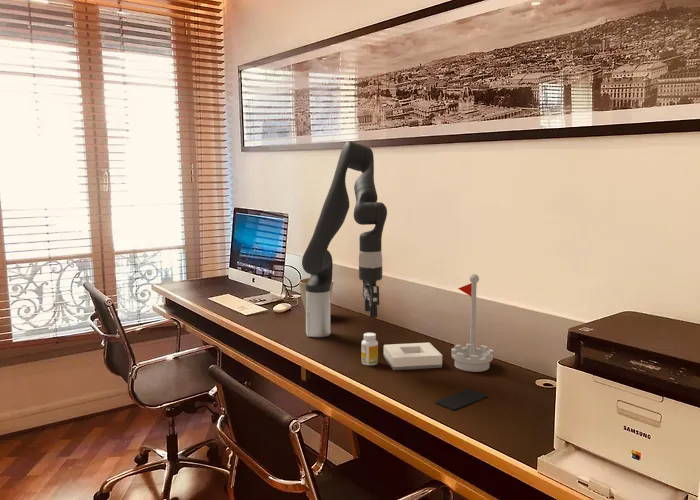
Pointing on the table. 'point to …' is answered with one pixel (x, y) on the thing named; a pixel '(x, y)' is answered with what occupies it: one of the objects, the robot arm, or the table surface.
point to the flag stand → (472, 339)
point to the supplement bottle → (369, 349)
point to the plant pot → (303, 289)
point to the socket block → (412, 356)
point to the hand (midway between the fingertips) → (370, 314)
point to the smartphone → (461, 399)
